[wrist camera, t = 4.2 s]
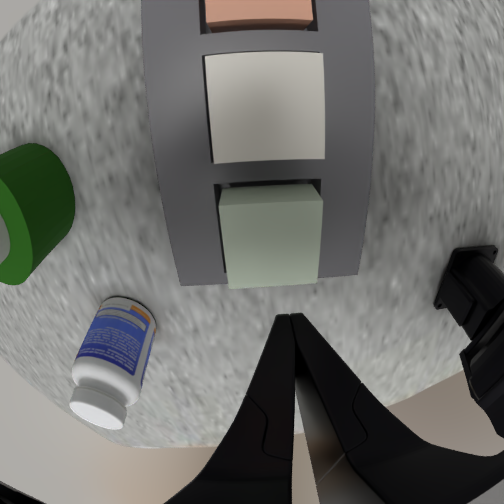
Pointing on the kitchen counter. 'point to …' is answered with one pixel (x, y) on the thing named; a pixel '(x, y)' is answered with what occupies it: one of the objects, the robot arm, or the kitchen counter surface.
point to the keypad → (267, 171)
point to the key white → (266, 106)
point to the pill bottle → (112, 362)
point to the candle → (32, 209)
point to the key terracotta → (258, 15)
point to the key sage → (271, 235)
